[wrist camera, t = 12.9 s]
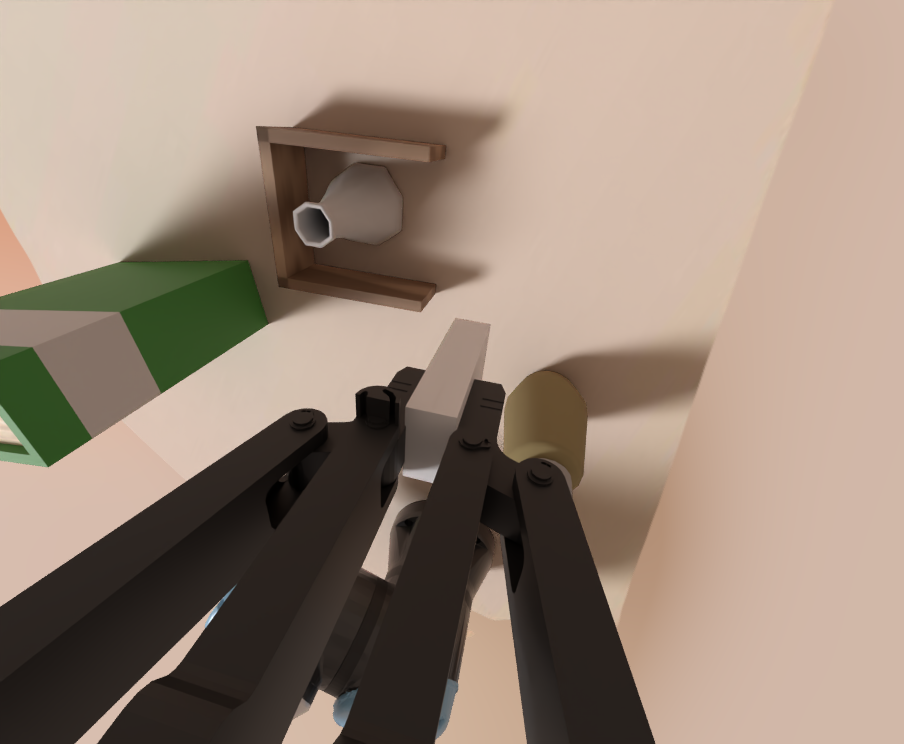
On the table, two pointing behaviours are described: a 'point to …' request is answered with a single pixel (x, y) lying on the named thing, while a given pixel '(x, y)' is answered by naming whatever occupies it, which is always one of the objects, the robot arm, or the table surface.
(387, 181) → the flask
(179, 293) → the hardback book
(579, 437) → the squeeze bottle
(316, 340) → the table surface
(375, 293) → the box
